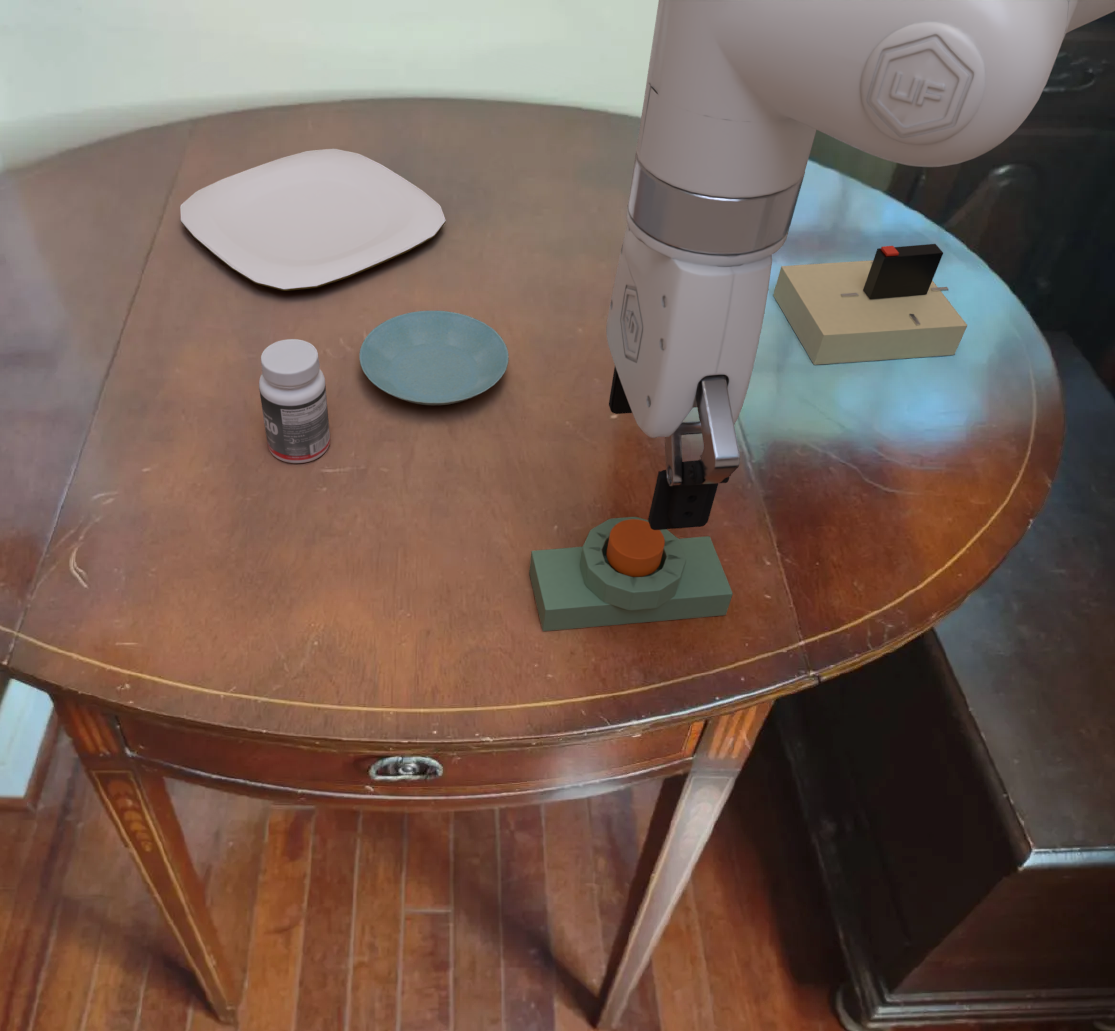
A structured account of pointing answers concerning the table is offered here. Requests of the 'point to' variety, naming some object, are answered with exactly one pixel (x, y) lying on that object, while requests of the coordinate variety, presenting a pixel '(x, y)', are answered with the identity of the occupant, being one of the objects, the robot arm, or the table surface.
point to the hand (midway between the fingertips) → (654, 463)
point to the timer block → (627, 584)
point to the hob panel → (863, 316)
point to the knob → (902, 271)
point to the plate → (311, 218)
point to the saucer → (434, 357)
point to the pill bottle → (294, 401)
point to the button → (635, 548)
